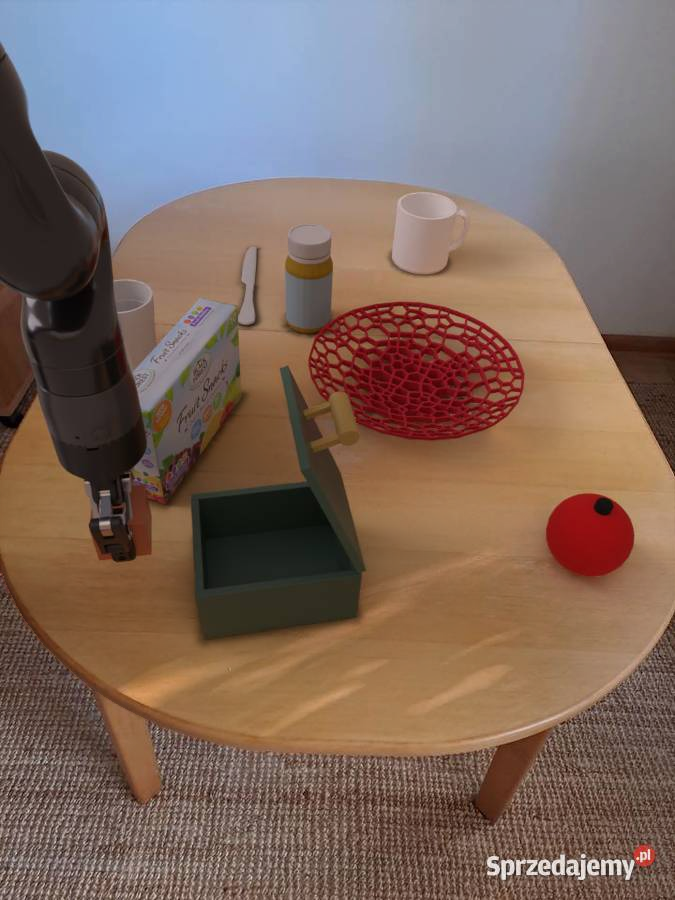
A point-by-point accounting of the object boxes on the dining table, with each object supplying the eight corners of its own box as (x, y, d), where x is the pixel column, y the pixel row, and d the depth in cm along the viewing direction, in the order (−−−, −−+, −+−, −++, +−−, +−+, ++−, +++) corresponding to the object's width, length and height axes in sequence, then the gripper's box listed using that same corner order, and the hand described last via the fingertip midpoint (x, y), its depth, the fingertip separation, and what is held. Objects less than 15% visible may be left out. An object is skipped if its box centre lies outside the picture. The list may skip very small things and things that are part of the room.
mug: (389, 271, 117) (395, 215, 110) (393, 243, 124) (400, 189, 117) (461, 279, 116) (472, 224, 109) (461, 251, 123) (472, 197, 116)
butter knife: (235, 323, 103) (254, 323, 104) (245, 245, 120) (261, 245, 120) (235, 325, 104) (254, 325, 104) (245, 247, 120) (261, 247, 121)
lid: (300, 470, 52) (361, 448, 51) (279, 368, 60) (331, 348, 60) (358, 573, 63) (408, 556, 63) (334, 476, 72) (377, 460, 72)
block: (99, 560, 66) (89, 529, 62) (101, 520, 69) (92, 489, 66) (151, 554, 67) (144, 523, 63) (151, 515, 70) (145, 484, 67)
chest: (203, 640, 67) (195, 597, 61) (198, 539, 75) (190, 494, 70) (356, 617, 69) (362, 575, 64) (334, 522, 78) (337, 477, 72)
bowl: (347, 311, 108) (349, 284, 104) (530, 355, 102) (538, 328, 98) (274, 429, 88) (273, 400, 85) (495, 492, 82) (504, 464, 79)
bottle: (278, 328, 104) (276, 239, 93) (296, 305, 109) (297, 218, 98) (320, 340, 102) (323, 250, 92) (336, 316, 107) (341, 228, 96)
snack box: (170, 507, 78) (150, 412, 68) (127, 494, 79) (101, 398, 69) (245, 396, 93) (238, 302, 82) (208, 386, 94) (197, 293, 83)
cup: (172, 353, 98) (160, 281, 90) (156, 388, 93) (142, 315, 84) (118, 348, 99) (101, 276, 90) (100, 383, 93) (80, 310, 85)
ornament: (558, 514, 80) (584, 457, 73) (630, 555, 76) (664, 499, 69) (522, 561, 75) (546, 504, 68) (597, 608, 71) (630, 553, 64)
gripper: (54, 360, 60) (91, 486, 72) (35, 479, 50) (81, 601, 62) (141, 355, 61) (163, 479, 73) (139, 470, 51) (164, 591, 63)
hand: (125, 535), depth 68 cm, fingers closed on block, 5 cm apart
